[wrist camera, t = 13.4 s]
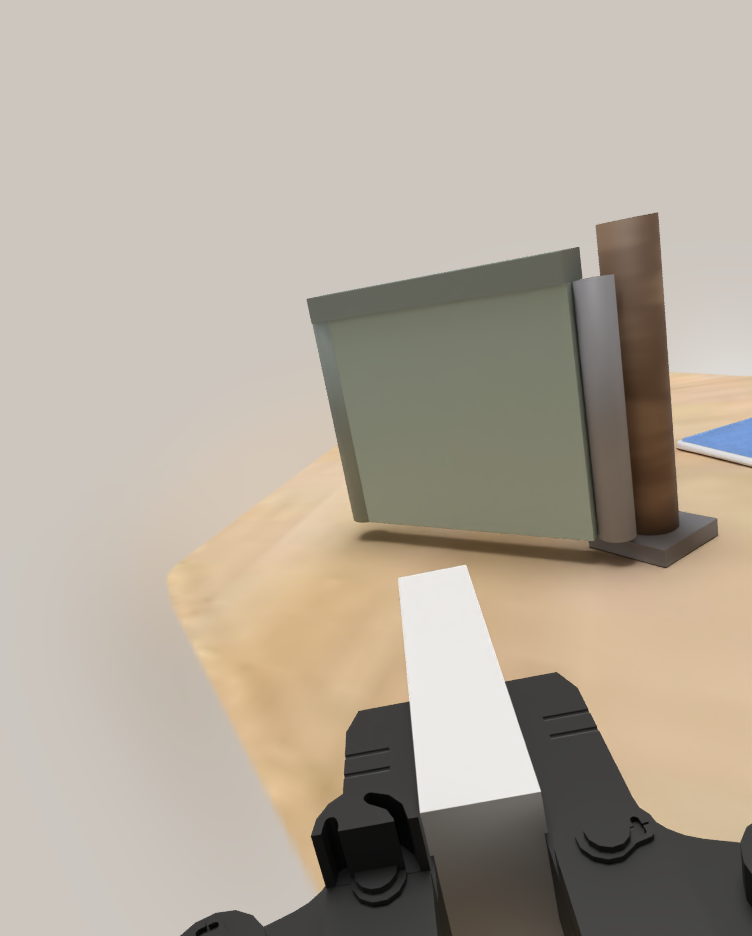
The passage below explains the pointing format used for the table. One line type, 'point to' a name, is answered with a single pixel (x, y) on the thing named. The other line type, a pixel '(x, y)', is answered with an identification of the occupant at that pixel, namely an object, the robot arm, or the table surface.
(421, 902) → the robot arm
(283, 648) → the table surface
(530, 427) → the panel
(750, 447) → the tablet computer
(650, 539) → the hinge post
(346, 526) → the table surface
